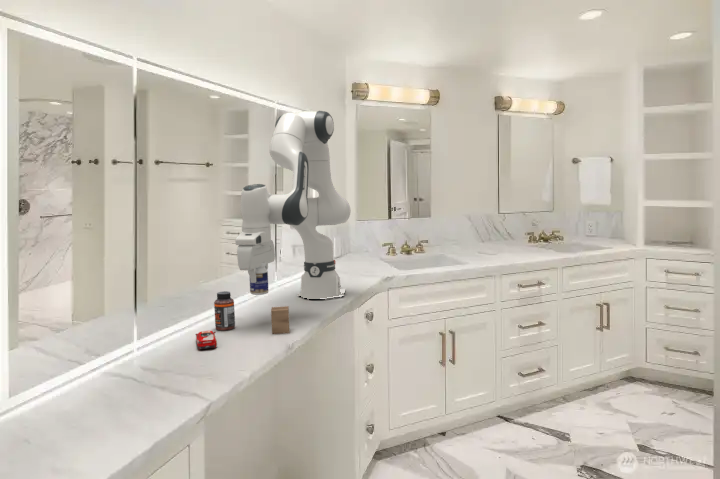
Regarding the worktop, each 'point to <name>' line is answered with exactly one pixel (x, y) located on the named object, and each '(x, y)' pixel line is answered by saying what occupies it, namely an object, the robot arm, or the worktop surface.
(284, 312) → the walnut block
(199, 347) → the race car
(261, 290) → the pill bottle
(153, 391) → the worktop surface
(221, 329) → the supplement bottle
